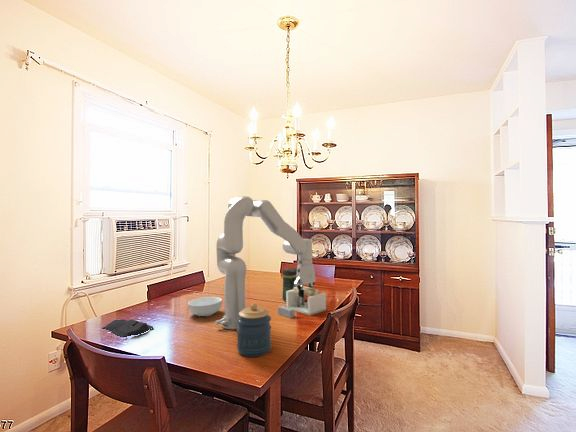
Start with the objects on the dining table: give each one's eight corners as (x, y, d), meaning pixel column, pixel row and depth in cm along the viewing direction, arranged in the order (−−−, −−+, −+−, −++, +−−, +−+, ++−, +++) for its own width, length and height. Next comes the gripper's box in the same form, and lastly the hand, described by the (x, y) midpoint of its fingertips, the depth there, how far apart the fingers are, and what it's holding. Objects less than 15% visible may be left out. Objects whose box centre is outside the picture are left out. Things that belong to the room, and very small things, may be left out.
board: (310, 296, 160) (310, 291, 160) (293, 292, 170) (293, 287, 170) (318, 294, 164) (318, 289, 164) (301, 289, 174) (301, 285, 174)
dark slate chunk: (126, 322, 152) (126, 312, 152) (157, 330, 142) (156, 319, 142) (94, 333, 139) (93, 323, 139) (125, 342, 129) (125, 331, 128)
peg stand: (310, 315, 157) (309, 297, 157) (286, 307, 170) (286, 291, 170) (326, 310, 165) (325, 293, 164) (302, 303, 178) (302, 287, 178)
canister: (230, 354, 115) (229, 306, 115) (247, 340, 127) (246, 297, 127) (262, 360, 111) (261, 310, 110) (276, 345, 123) (276, 300, 122)
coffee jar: (292, 302, 179) (291, 270, 179) (280, 300, 183) (280, 269, 183) (300, 298, 188) (299, 267, 188) (288, 296, 192) (288, 266, 192)
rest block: (289, 317, 154) (289, 310, 154) (278, 313, 161) (278, 306, 160) (294, 316, 156) (294, 309, 156) (282, 312, 163) (282, 305, 162)
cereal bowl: (211, 307, 173) (211, 294, 173) (228, 313, 162) (228, 300, 161) (182, 314, 161) (182, 301, 161) (198, 322, 150) (198, 307, 150)
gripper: (298, 265, 159) (298, 300, 159) (321, 260, 170) (322, 293, 170) (288, 263, 164) (289, 297, 164) (311, 259, 176) (312, 291, 176)
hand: (305, 295), depth 167 cm, fingers closed on board, 6 cm apart
